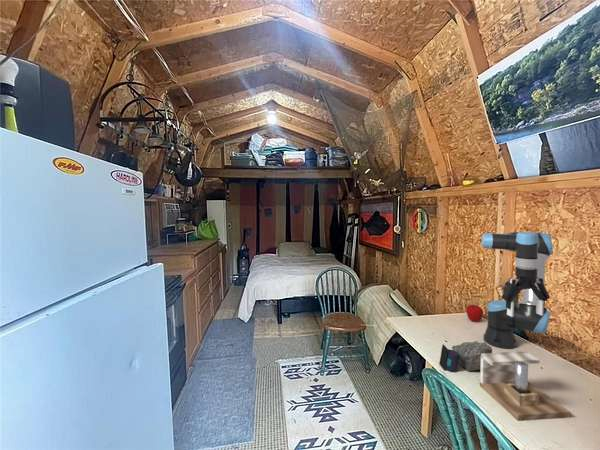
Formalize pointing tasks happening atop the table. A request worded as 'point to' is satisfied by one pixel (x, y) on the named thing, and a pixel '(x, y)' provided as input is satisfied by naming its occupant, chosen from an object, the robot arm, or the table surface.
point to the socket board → (501, 387)
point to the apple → (474, 313)
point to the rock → (471, 354)
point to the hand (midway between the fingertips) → (524, 315)
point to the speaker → (449, 359)
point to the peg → (521, 377)
